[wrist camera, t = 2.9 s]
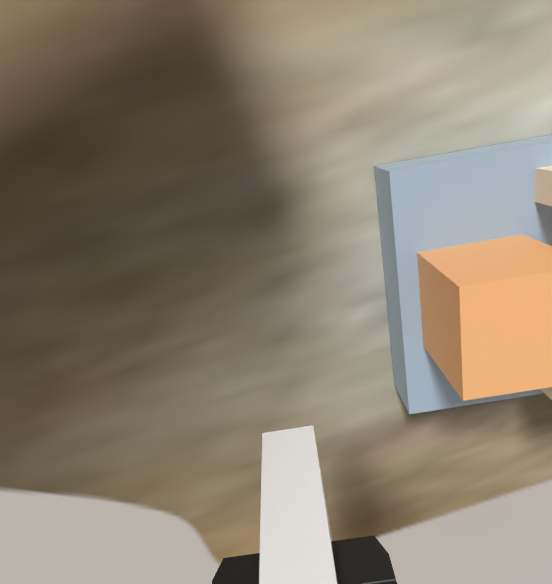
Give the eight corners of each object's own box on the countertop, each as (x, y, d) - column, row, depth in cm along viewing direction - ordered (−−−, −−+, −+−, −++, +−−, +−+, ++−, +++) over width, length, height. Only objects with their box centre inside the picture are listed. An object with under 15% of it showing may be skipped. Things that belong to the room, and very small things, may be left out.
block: (423, 345, 23) (463, 400, 18) (416, 252, 21) (459, 287, 17) (521, 329, 23) (587, 381, 18) (522, 234, 21) (595, 264, 17)
